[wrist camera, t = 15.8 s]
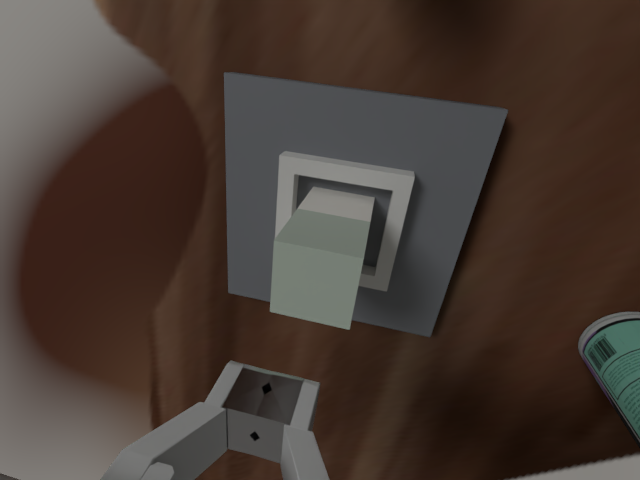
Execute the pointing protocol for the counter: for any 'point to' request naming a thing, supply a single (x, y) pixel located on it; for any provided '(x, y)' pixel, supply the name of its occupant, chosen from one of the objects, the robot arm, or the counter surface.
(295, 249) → the block stack
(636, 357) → the spray can
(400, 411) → the counter surface
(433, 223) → the square peg socket board
